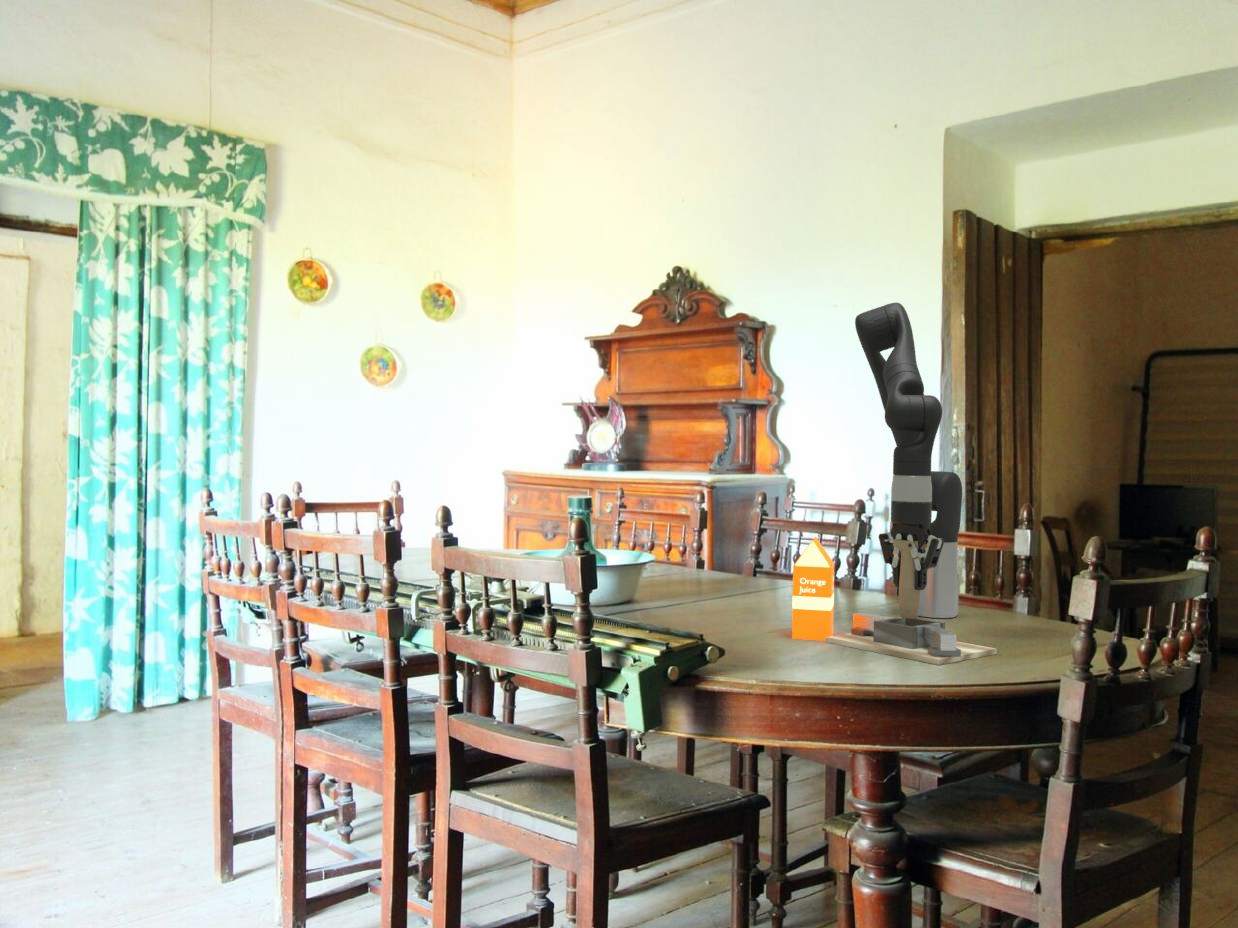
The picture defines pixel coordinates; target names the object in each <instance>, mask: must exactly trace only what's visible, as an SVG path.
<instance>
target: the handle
mask: <svg viewBox="0 0 1238 928" xmlns="http://www.w3.org/2000/svg"><path fill="white" fill-rule="evenodd" d="M910 543H911V544H912V547H911V544H910ZM915 544H916V547H917V549H918V541H915ZM913 545H914V544H913V543H912V542H911V541H908V540H895V539H893V546H894V547H896V548H897V549H899V550H900V551H901V566H900V578H899V588H898V604H899V605H898V606H899V609H900V611H899V613H900V617H901V618H907V619H916V618H918V611H917V609H918V608H919V601H920V599H919V598H920V590H915V571H917V570H916V567H915V562H914V559H913V558H912V555H911V550H912V549H913ZM927 547H928V543H927V545H926V541H925V543H924V544H923V546H922V547H921V549H922V550H924V549H925V548H927ZM918 553H919V554H920V552H918Z"/></svg>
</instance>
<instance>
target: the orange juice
mask: <svg viewBox="0 0 1238 928" xmlns="http://www.w3.org/2000/svg"><path fill="white" fill-rule="evenodd" d="M791 601H792V606H791V607H792V608H791V609H792V614H791V615H792V616H791V617H792V620H791V621H792V623H791V625H792V626H791V639H793V640H810V641H822V642H823V641H824V642H826V637H828V636H834V607H835V606H834V605H835V562H834V561H833V560H832V558H831V557H830V555H829V554H828V552H827V551H826V549H825V548H824V547H823V545H822V543H821V542H820V541H819V539H818V537H817V536H815V537H814V538H813V539H812V540H811V541H810V542H809V544H808V545H807V547H806V548H805V549H804V550H803V552H802V553H801V555H800V556H799V557H798V559H797V560H796V561H795V563H794V564H793V566H792V600H791Z"/></svg>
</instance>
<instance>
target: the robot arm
mask: <svg viewBox="0 0 1238 928" xmlns="http://www.w3.org/2000/svg"><path fill="white" fill-rule="evenodd" d="M854 325H855V330H856V333H857V336H858V340H859V342H860V345H861V347H862V350H863V352H864V354H865V357H866V359H867V362H868V366H869V368H870V370H871V372H872V375H873V378H874V380H875V383H876V386H877V388H878V394H879V397H880V401H881V403H882V407H883V409H884V421H885V424H886V425H887V427H888V428H889V429H890V431H891V432H892V436H893V438H894V442H895V445H896V446H895V447H894V449H893V458H892V459H893V460H892V462H893V463H892V468H893V469H892V481H891V488H890V489H891V491H890V495H891V496H890V521H891V523H892V527H891V529H890V531H888V532H885V533H884V532H883V533H879V534H878V541H879V544H880V548H881V552H882V556H883V560H884V563H885V564H889V565H891V566H892V568H893V585H894V587H895V588H898V589H899V578H900V566H901V551H900V550H899V549H897V548H896V547H894V546H893V539H895V540H908V541H911V542H912V543H913V544H914V545H913V549H912V550H911V555H912V558H913V559H914V562H915V567H916V570H917V571H915V590H920V598H919V599H920V601H919V608H918V609H917V611H918V615H917V617H918V616H919V617H923V618H925V617H926V618H932V619H933V618H934V619H951V618H955V617H956V616H958V615H959V597H960V596H959V595H960V593H959V589H960V586H959V584H960V583H959V581H960V575H959V574H958V546H959V545H958V539H959V533H960V529H961V517H962V516H961V515H962V502H963V501H962V500H963V485H962V480H961V478H960V477H959V474H957V473H956V472H952V471H939V470H938V471H935V470H934V471H933V470H932V455H933V454H932V453H933V448H934V444H935V441H936V437H937V433H938V430H939V427H940V424H941V421H942V416H943V407H942V404H941V402H940V400H939V398H937V397H936V396H934V395H930V394H929V395H927V394H925V385H924V382H923V379H922V377H921V374H920V371H919V367H918V364H917V357H916V356H917V355H916V345H915V340H914V333H913V328H912V325H911V320H910V318H909V315H908V312H907V310H906V308H905V307H904V306H903V304H901V303H899V302H891V303H887V304H884V305H881V306H878V307H875V308H873V309H870V310H866V311H864V312H861V313H859V314H858V315H856V317H855V320H854ZM892 348H893V349H892ZM889 349H892V351H891V352H890V353H889V355H888V357H887V358H886V359H885V357H884V356H883V354H882V353H881V352H883V351H887V350H889ZM932 512H936V516H935V519H934V520H933V521H932ZM915 541H918V549H917V547H916V544H915ZM925 541H926V545H927V543H928V547H927V548H925V549H924V550H922V549H921V547H922V546H923V544H924V543H925ZM910 544H911V543H910ZM911 547H912V544H911ZM918 552H920V554H919V553H918Z"/></svg>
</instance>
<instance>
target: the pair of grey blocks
mask: <svg viewBox="0 0 1238 928" xmlns="http://www.w3.org/2000/svg"><path fill="white" fill-rule="evenodd" d="M891 618H893V616H886V615H885V616H884V615H878V614H874V613H867V612H855V613H852V627H851V629H850V631H851V632H850V633H851V634H852V635H857V636H862V637H865V636H871V635H874V621H877V620H878V621H879V620H884V619H891ZM923 626H924V637H923V641H924V642H926V643H928V644H930V645H932V646H933V647H928V654H930V655H932V656H940V657H961V650H960V649H958V648H956V641H957V634H955V633H953V632H951V631H949V630H947V629H946V628H945V629H943V628H941V627H939V626H937V625H923Z"/></svg>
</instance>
